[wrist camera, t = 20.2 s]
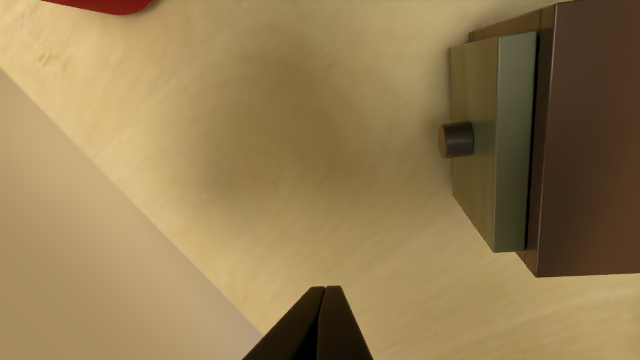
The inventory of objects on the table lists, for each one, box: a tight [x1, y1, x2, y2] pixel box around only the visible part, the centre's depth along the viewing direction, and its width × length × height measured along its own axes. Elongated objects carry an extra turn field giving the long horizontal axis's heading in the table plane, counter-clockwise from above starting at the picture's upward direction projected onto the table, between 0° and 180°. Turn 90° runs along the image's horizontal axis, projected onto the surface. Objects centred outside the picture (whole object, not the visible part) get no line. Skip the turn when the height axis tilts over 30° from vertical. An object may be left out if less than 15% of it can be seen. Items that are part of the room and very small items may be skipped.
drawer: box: [438, 30, 539, 253], centre depth 14 cm, size 12×8×6 cm
